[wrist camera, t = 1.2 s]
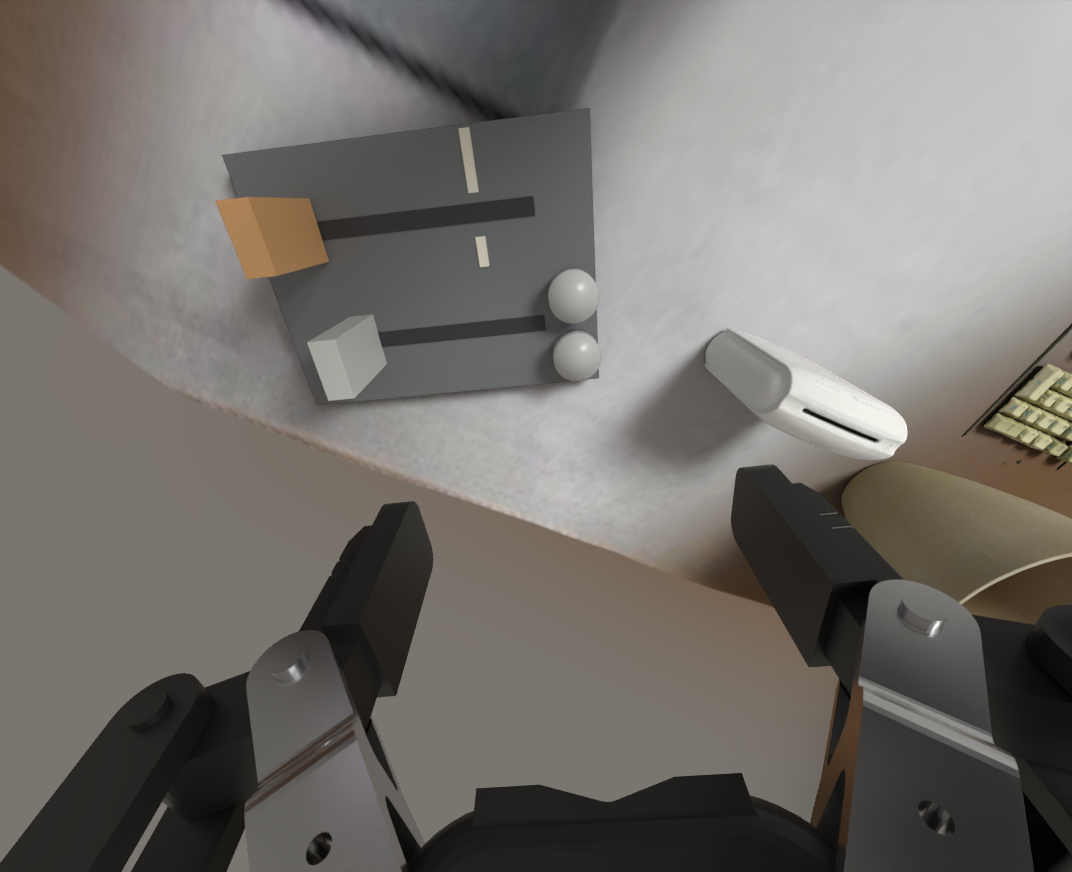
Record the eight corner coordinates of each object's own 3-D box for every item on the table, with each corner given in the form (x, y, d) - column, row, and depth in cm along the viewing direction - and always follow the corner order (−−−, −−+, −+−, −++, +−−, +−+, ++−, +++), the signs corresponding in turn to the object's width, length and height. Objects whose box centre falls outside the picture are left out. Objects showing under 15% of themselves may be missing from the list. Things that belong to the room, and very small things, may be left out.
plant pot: (778, 480, 42) (898, 616, 28) (938, 397, 38) (1172, 509, 24) (830, 567, 48) (950, 716, 34) (973, 503, 44) (1179, 644, 30)
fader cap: (283, 201, 29) (215, 200, 23) (309, 198, 29) (247, 196, 23) (305, 264, 31) (247, 279, 25) (329, 261, 31) (277, 276, 25)
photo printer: (823, 364, 37) (944, 431, 26) (791, 406, 39) (891, 485, 28) (722, 318, 35) (806, 370, 24) (693, 365, 37) (760, 432, 26)
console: (240, 157, 30) (132, 141, 22) (586, 113, 28) (605, 78, 20) (327, 396, 38) (272, 446, 30) (595, 369, 37) (612, 415, 29)
